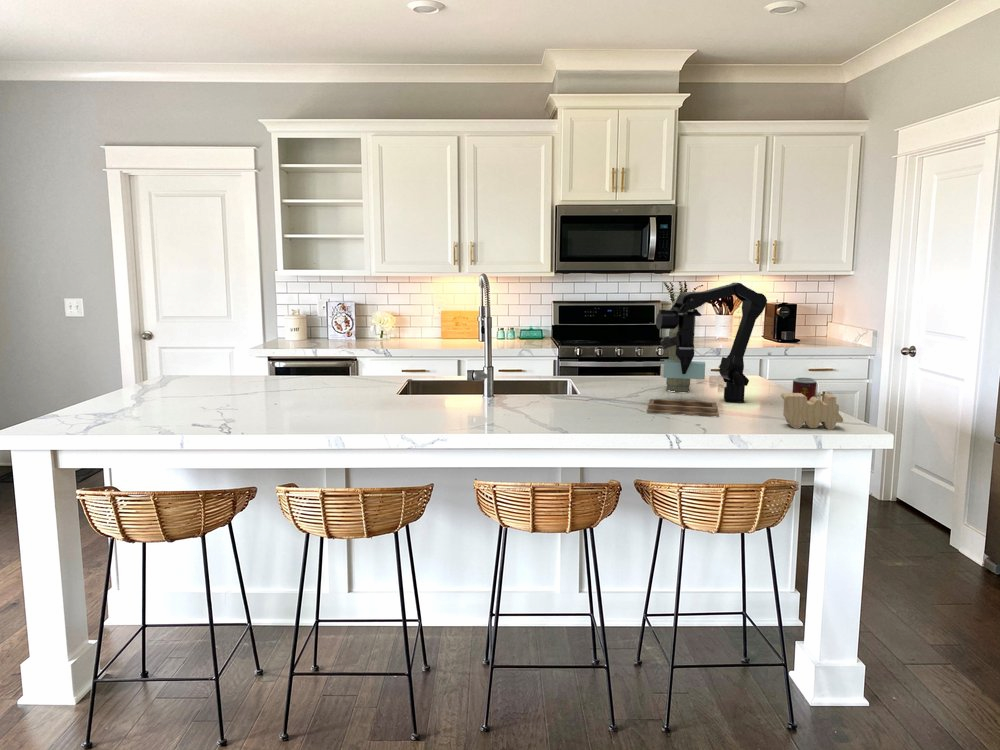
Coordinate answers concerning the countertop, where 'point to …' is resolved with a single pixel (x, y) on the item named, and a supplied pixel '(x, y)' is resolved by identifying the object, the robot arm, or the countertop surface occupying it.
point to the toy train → (811, 410)
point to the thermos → (676, 383)
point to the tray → (683, 407)
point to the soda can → (805, 387)
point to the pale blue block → (675, 371)
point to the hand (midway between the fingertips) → (683, 372)
